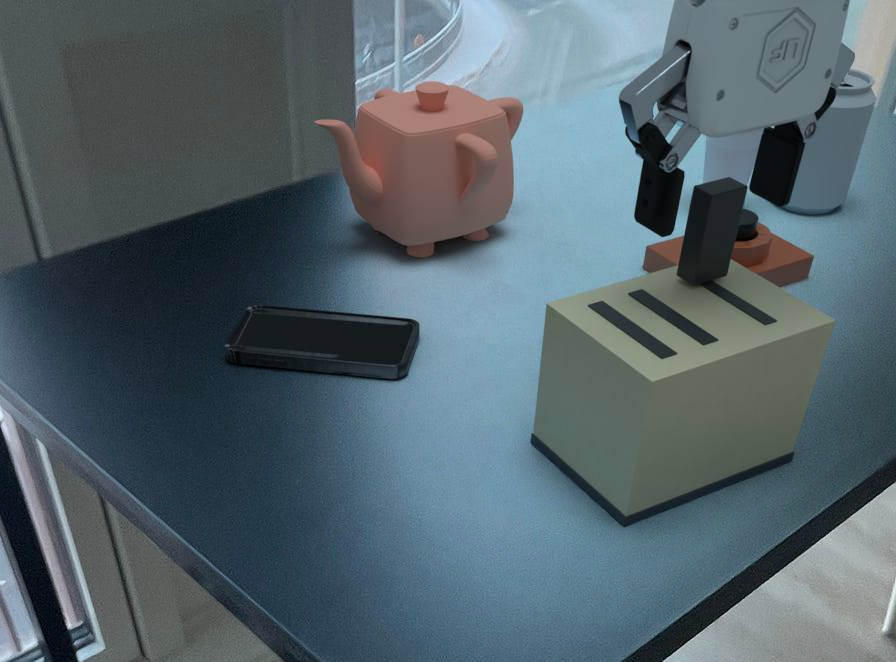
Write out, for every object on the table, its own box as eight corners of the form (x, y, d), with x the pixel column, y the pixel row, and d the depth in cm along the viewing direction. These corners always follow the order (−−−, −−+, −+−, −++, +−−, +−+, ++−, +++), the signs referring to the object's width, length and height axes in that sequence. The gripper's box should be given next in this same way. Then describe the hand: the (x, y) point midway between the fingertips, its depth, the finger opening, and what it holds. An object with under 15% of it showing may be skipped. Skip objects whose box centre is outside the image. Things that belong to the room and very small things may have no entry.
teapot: (517, 204, 103) (528, 62, 94) (499, 275, 92) (509, 122, 83) (358, 193, 105) (353, 53, 96) (322, 260, 94) (312, 109, 85)
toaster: (690, 387, 79) (721, 250, 71) (792, 461, 73) (838, 318, 65) (530, 442, 74) (544, 301, 66) (623, 527, 67) (652, 381, 59)
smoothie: (734, 228, 99) (770, 72, 89) (675, 212, 102) (704, 58, 92) (761, 207, 103) (799, 55, 93) (704, 191, 106) (734, 41, 96)
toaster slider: (709, 265, 69) (729, 176, 65) (727, 276, 68) (748, 186, 64) (675, 275, 68) (693, 185, 64) (693, 286, 67) (712, 195, 63)
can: (764, 212, 102) (797, 83, 94) (771, 183, 107) (802, 58, 98) (841, 222, 101) (882, 91, 92) (844, 193, 105) (882, 66, 97)
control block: (740, 240, 98) (750, 199, 95) (807, 278, 92) (820, 236, 89) (642, 268, 93) (649, 226, 91) (706, 310, 88) (716, 266, 85)
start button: (734, 223, 92) (739, 204, 91) (762, 238, 90) (767, 219, 88) (704, 231, 91) (708, 212, 89) (731, 247, 88) (736, 227, 87)
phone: (249, 303, 86) (421, 319, 84) (250, 315, 87) (421, 331, 85) (220, 350, 81) (404, 368, 79) (222, 363, 81) (404, 380, 80)
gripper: (705, -84, 48) (642, 265, 60) (954, -114, 54) (851, 208, 66) (609, -112, 52) (568, 218, 64) (849, -137, 58) (770, 169, 70)
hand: (711, 213), depth 65 cm, fingers open, 9 cm apart
